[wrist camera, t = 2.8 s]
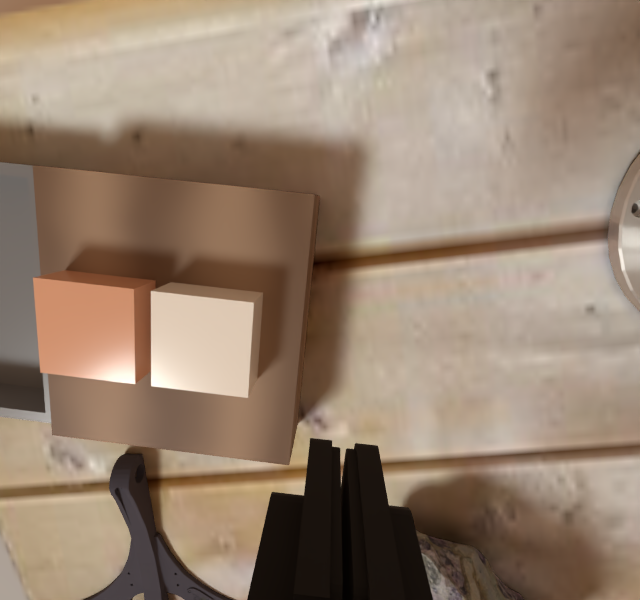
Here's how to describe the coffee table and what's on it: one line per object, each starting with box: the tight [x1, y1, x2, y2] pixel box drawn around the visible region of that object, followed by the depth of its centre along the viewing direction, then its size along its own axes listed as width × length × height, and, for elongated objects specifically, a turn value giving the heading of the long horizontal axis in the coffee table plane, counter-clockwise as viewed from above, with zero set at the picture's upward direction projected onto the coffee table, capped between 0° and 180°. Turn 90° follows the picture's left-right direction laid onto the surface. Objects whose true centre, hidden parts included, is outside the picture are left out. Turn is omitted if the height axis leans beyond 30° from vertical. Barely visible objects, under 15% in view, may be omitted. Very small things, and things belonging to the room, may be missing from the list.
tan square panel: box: [33, 165, 320, 465], centre depth 21 cm, size 13×14×4 cm
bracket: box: [84, 454, 232, 600], centre depth 27 cm, size 14×15×3 cm
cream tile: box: [151, 282, 263, 398], centre depth 18 cm, size 4×4×2 cm
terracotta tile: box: [33, 270, 156, 384], centre depth 18 cm, size 4×4×2 cm
